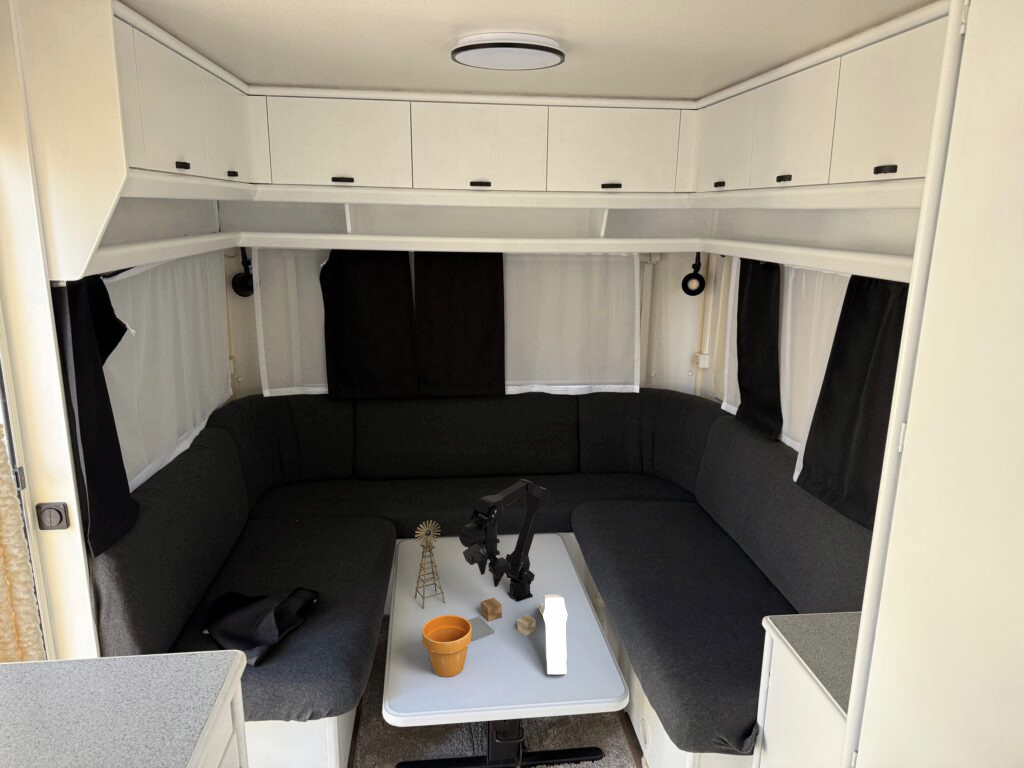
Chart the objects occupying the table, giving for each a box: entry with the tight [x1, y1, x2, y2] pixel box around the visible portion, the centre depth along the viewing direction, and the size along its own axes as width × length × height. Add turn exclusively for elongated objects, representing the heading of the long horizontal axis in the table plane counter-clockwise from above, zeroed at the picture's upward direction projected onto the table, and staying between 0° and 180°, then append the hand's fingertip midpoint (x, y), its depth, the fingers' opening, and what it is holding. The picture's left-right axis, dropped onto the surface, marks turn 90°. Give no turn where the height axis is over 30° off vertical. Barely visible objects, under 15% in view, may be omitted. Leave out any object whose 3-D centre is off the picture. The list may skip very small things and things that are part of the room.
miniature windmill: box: [414, 519, 446, 610], centre depth 235 cm, size 9×8×30 cm
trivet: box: [467, 616, 495, 642], centre depth 221 cm, size 8×10×1 cm
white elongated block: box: [538, 594, 568, 675], centre depth 214 cm, size 7×33×21 cm, turn 1°
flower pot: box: [421, 614, 472, 678], centre depth 201 cm, size 14×14×13 cm
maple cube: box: [516, 614, 536, 637], centre depth 220 cm, size 4×4×4 cm
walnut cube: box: [480, 597, 503, 623], centre depth 228 cm, size 5×5×5 cm
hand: (489, 580), depth 227 cm, fingers open, 9 cm apart
